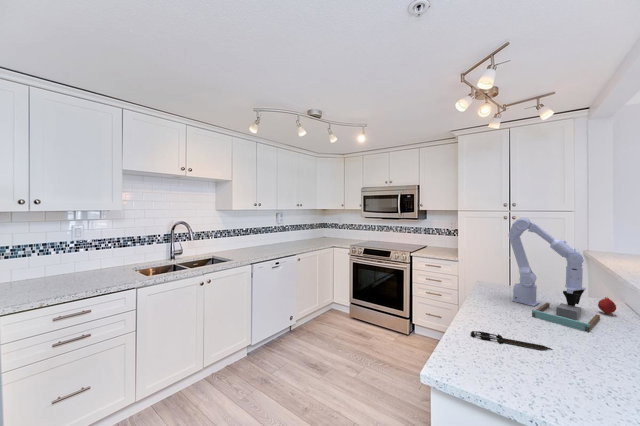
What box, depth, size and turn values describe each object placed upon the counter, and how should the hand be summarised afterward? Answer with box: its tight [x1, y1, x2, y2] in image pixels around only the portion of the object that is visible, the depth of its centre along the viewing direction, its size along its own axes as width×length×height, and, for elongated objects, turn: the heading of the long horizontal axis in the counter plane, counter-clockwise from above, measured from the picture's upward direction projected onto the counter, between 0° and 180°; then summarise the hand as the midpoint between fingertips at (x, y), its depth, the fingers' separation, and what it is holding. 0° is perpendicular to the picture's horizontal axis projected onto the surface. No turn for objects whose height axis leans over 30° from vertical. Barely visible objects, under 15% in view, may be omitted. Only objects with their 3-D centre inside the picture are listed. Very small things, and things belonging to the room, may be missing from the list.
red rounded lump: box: [597, 296, 617, 315], centre depth 126 cm, size 6×6×8 cm
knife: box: [470, 330, 554, 351], centre depth 101 cm, size 25×6×1 cm, turn 57°
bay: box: [531, 302, 601, 333], centre depth 122 cm, size 19×20×3 cm
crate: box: [555, 302, 582, 321], centre depth 125 cm, size 7×8×4 cm
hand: (573, 305), depth 130 cm, fingers open, 7 cm apart
